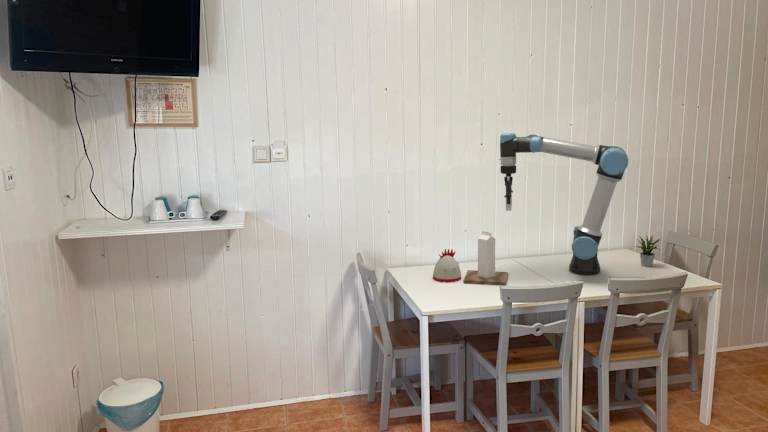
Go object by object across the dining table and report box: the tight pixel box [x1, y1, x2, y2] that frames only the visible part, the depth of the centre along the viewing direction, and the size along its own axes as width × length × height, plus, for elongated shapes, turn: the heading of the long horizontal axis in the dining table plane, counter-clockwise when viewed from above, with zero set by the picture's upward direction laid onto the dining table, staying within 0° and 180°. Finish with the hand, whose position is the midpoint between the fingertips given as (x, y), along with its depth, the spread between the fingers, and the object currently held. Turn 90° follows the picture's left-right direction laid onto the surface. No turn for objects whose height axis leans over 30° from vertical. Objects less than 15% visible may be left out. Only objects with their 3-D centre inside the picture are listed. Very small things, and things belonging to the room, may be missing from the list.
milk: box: [477, 230, 496, 278], centre depth 302 cm, size 6×6×22 cm
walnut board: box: [462, 269, 509, 286], centre depth 304 cm, size 20×18×2 cm
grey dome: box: [432, 248, 462, 283], centre depth 306 cm, size 14×14×15 cm
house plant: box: [635, 234, 663, 268], centre depth 318 cm, size 14×14×16 cm
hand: (508, 208), depth 307 cm, fingers open, 13 cm apart
